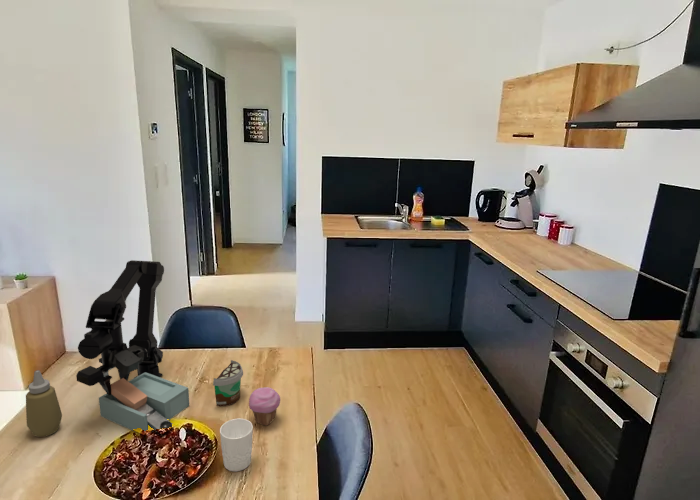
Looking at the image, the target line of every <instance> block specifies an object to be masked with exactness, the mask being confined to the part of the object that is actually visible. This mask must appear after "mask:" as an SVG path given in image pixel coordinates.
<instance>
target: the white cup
mask: <svg viewBox="0 0 700 500" xmlns="http://www.w3.org/2000/svg"><path fill="white" fill-rule="evenodd" d="M253 429H254V428H253V423H252V422H251V421H250V420H249V419H246V418H233V419H229V420H227V421H225V422H224V423H223V424H222V425H221V426H220V428H219V435H220V437H219V438H220V445H221V446H220V447H221V454H222V460H223V461H222V463H223V465H224V468H225V469H227V470H228V471H229V472H239V471H243V470H245V469H247V468H248V467H249V466H250V464H251V462H252V451H253V432H254V431H253Z"/></svg>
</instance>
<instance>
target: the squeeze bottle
mask: <svg viewBox="0 0 700 500" xmlns="http://www.w3.org/2000/svg"><path fill="white" fill-rule="evenodd" d="M25 410H26V411H25V413H26V416H25V417H26V419H25V420H26V426H27V428H28V429H29V431H30V432H31V433H32V435H33V436H34V437H35V438H36V437H37V438H38V437H39V438H42V437H47V436H50V435H52V434H55V432H57V431H58V430H59V428H60V425H61V421H62V418H63V414H62V410H61V407H60V403H59V400H58V396H57V393H56V390H55V387H54V386H51V383H50V380H48V379H45V378H44V376H43V374H42V372H41V370H39V369H38V370H34V374H33V381H32V382H30V383H29V385H28V392H27V393H26V394H25Z"/></svg>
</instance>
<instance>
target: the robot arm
mask: <svg viewBox="0 0 700 500" xmlns="http://www.w3.org/2000/svg"><path fill="white" fill-rule="evenodd" d="M164 274H165V267H164V265H162V263H161V262H160V261H153V260H152V261H151V260H133V259H131V260H128V261H127V262H126V265H125V268H124V269H123V271H122V272H121V273H120V275H119V276H118V278H117V279H116V281H114V283H113V284H112V286H111V288H110V289H108V291H105V292H103V293H101V294H100V295H99V296H97V297H96V298H95V300H94V301H93V303H91V305H90V309H89V312H88V316H87V320H86V324H85V329H91V330H89V331H88V332H86V333H84V334H83V339H81V340H80V341H79V343H78V346H77V349H78V350H77V351H78V353H79V354H80V356H82V357H83V358H84V359H87V360H88V359H89V360H94V359H96V358H98V357H99V356H101V357H100V358H98V363H100V364H102V365H100V366H98V367H94V366H92V365H89V366H87V367H85V368H82V369H80V370H78V371H77V373H76V375H75V376H76V382H79V383H81V384H83V385H86V386H87V387H88V386H89V387H92V386H95V385H96V384H99V385H100V387H101V388H102V390H104V392H105V394H106V393H107V394H108V395H111V384H112V383H111V379H113V376H112V375H110V374H109V372H110V370H111V371H112V370H113V369H115V368H116V369H117V370H118V376H119V380H120V379H122V378H124V379H126V380H127V381H128V380H129V378H130V374H131V373H132V372H133V371H137V376H139V375H141V374H143V373H145V372H146V373H149V374H152V375H155V376H157V377H160V378H162V377H163V376H164V374H163V373H160V367H159V364H160V363H162V362H163V360H162V359H163V357H164V352H163V351H162V350H161V349H160V348H159V347H158V340H157V338H156V336H155V334H154V332H153V331H154V319H155V318H154V317H155V306H156V305H155V304H156V293H157V291H156V290H157V288H158V287H159V286H160V284H161V283H162V280H163V275H164ZM136 285H137V286H138V288H139V293H138V305H137V316H136V317H137V321H136V330H135V331H136V333H135V335H134V336H133V337H132V338H131V339H129V341H128V345H127V343H126V342H124V339H123V331H122V330H123V329H122V328H123V327H122V322H123V321H124V320H125V317H123V316H124V314H125V312H126V308H127V303H126V300H127V298H128V297H129V295H130V294H131V292H132V290H133V289H134V288H135V286H136ZM97 320H98V321H97ZM101 320H102V321H101ZM137 376H135V377H137ZM135 377H133V379H134V378H135Z"/></svg>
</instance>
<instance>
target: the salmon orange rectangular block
mask: <svg viewBox="0 0 700 500" xmlns="http://www.w3.org/2000/svg"><path fill="white" fill-rule="evenodd" d="M110 384H111V394H112V395H113V396H114V397H116V398H117V399H118V400H120V401H121V402H122V403H124V404H125V405H126V406H127V407H129V408H132V409H134V410H135V409H137V408H139V407H140V406H142V405H144V404H145V403H146V402H147V395H146V394H144V393H143V392H142V391H140V390H139V389H138V388H136V387H135V386H134V385H132V384H131V383H130V382H128V381H127V380H126V379H124V378H122V379H120V378H119V379H118V380H116V381H114V382H113V383H110Z"/></svg>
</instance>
